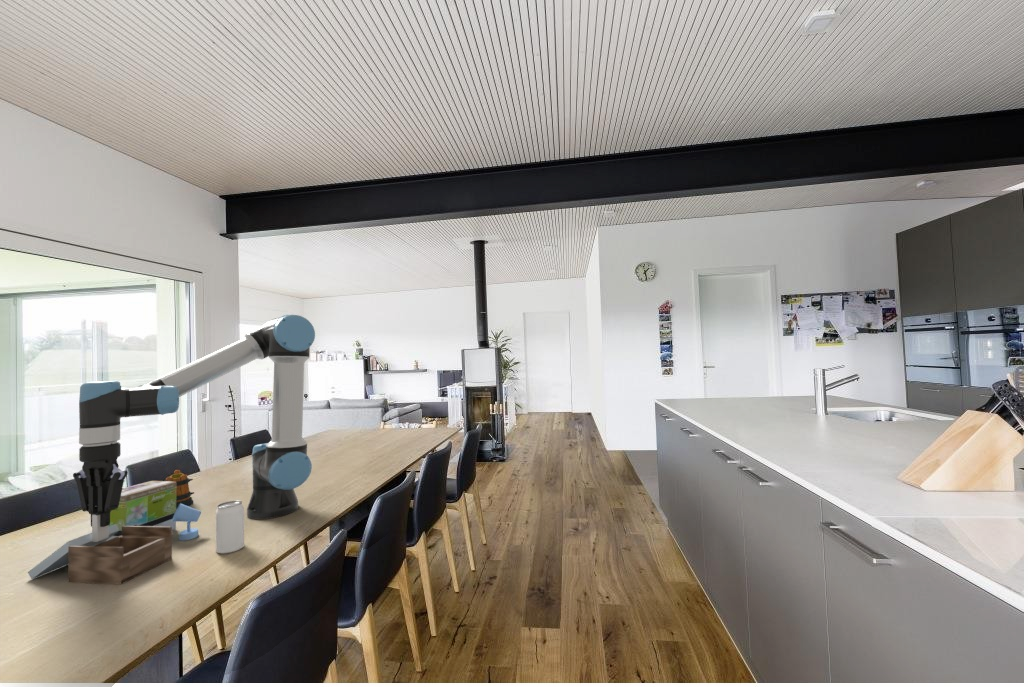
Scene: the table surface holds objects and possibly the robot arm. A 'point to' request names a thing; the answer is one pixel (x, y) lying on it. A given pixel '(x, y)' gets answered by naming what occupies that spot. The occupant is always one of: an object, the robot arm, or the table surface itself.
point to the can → (229, 527)
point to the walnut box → (121, 556)
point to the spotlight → (187, 520)
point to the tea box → (145, 506)
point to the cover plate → (66, 553)
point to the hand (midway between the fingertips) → (100, 539)
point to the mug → (181, 488)
